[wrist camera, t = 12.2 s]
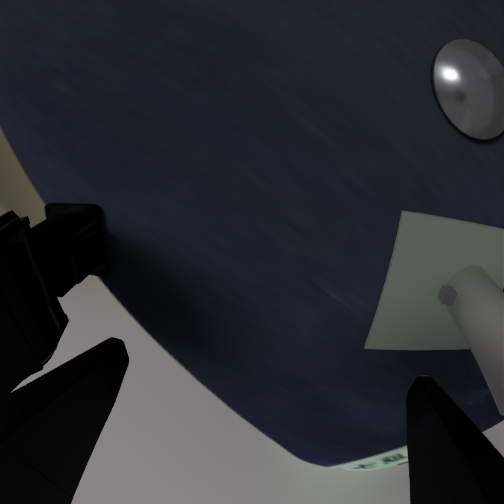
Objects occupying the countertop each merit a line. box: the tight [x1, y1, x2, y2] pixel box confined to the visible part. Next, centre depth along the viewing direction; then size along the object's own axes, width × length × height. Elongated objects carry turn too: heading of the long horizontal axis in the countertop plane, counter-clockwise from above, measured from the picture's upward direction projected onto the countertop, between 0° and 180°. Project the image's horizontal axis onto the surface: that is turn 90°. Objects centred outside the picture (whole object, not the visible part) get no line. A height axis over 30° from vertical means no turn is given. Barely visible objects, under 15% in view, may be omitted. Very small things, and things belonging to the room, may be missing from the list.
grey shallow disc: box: [431, 39, 504, 139], centre depth 13 cm, size 7×7×1 cm
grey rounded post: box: [437, 265, 504, 416], centre depth 14 cm, size 6×4×11 cm
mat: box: [364, 210, 504, 350], centre depth 20 cm, size 12×12×1 cm
